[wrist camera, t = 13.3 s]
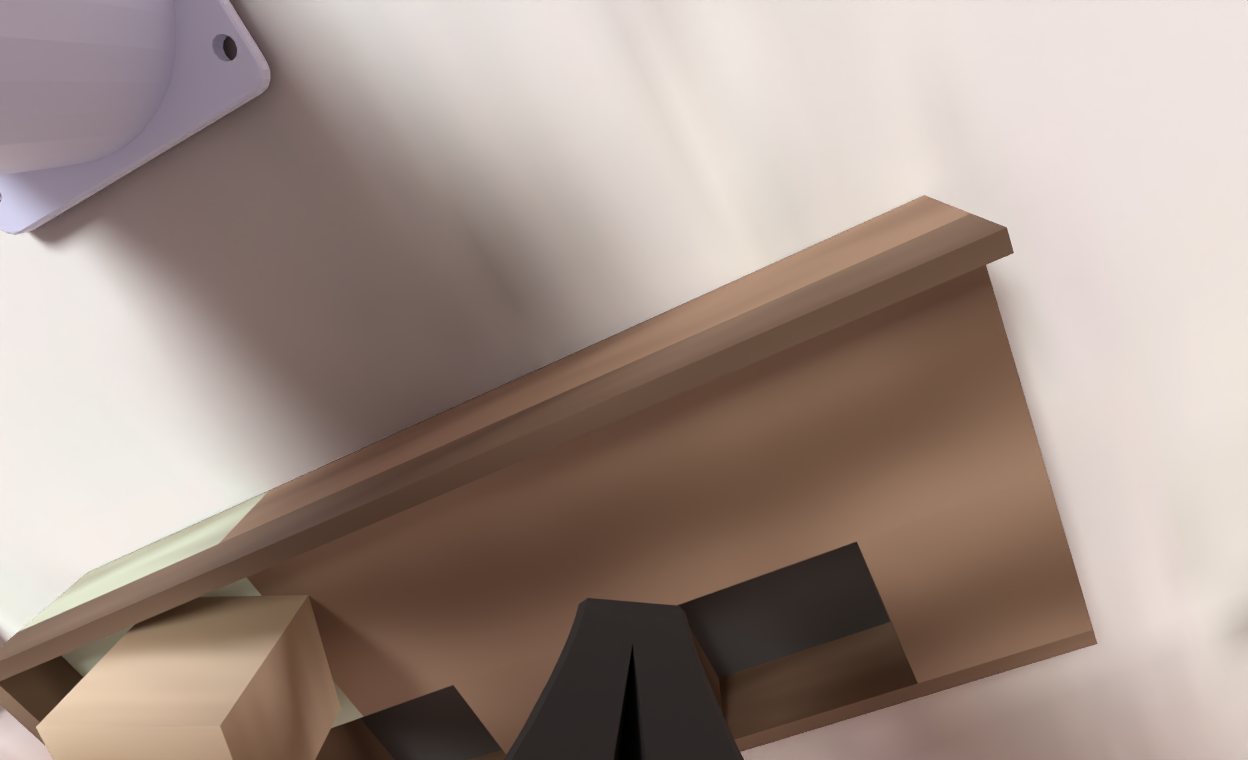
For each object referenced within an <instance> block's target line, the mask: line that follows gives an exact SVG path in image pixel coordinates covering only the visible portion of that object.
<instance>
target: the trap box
mask: <svg viewBox="0 0 1248 760" xmlns="http://www.w3.org/2000/svg"><path fill="white" fill-rule="evenodd" d="M1012 253H1014V252H1013V248H1012V245H1011V241H1010V238H1009V234H1008V230H1007V228H1006V227H1004V226H1001V225H999V224H996V223H994V222H991V221H989V220H986V219H983V218H981V217H978V216H976V215H973V214H971V213H968V212H966V211H963V210H961V209H958V208H955V207H953V206H950V205H948V204H945V203H943V202H940V201H938V200H935V199H933V198H930V197H927V196H925V195H924V196H922V197H920V198H917V199H915V200H913V201H911V202H909V203H906V204H904V205H902V206H900V207H897V208H895V209H893V210H891V211H889V212H886V213H884V214H882V215H880V216H878V217H875V218H873V219H871V220H869V221H866V222H864V223H862V224H860V225H858V226H855V227H853V228H851V229H849V230H846V231H844V232H842V233H840V234H838V235H835V236H833V237H831V238H829V239H826V240H824V241H822V242H820V243H818V244H815V245H813V246H811V247H809V248H807V249H804V250H802V251H800V252H798V253H795V254H793V255H791V256H789V257H787V258H784V259H782V260H780V261H778V262H775V263H773V264H771V265H769V266H767V267H764V268H762V269H760V270H758V271H755V272H753V273H751V274H749V275H747V276H744V277H742V278H740V279H738V280H736V281H733V282H731V283H729V284H727V285H724V286H722V287H720V288H718V289H716V290H713V291H711V292H709V293H707V294H704V295H702V296H700V297H698V298H696V299H693V300H691V301H689V302H687V303H685V304H682V305H680V306H678V307H676V308H673V309H671V310H669V311H667V312H665V313H662V314H660V315H658V316H656V317H653V318H651V319H649V320H647V321H645V322H642V323H640V324H638V325H636V326H633V327H631V328H629V329H627V330H625V331H622V332H620V333H618V334H616V335H614V336H611V337H609V338H607V339H605V340H602V341H600V342H598V343H596V344H594V345H591V346H589V347H587V348H585V349H582V350H580V351H578V352H576V353H574V354H571V355H569V356H567V357H565V358H562V359H560V360H558V361H556V362H554V363H551V364H549V365H547V366H545V367H543V368H540V369H538V370H536V371H534V372H531V373H529V374H527V375H525V376H523V377H520V378H518V379H516V380H514V381H511V382H509V383H507V384H505V385H503V386H500V387H498V388H496V389H494V390H491V391H489V392H487V393H485V394H483V395H480V396H478V397H476V398H474V399H472V400H469V401H467V402H465V403H463V404H460V405H458V406H456V407H454V408H452V409H449V410H447V411H445V412H443V413H440V414H438V415H436V416H434V417H432V418H429V419H427V420H425V421H423V422H420V423H418V424H416V425H414V426H412V427H409V428H407V429H405V430H403V431H401V432H398V433H396V434H394V435H392V436H389V437H387V438H385V439H383V440H381V441H378V442H376V443H374V444H372V445H369V446H367V447H365V448H363V449H361V450H358V451H356V452H354V453H352V454H349V455H347V456H345V457H343V458H341V459H338V460H336V461H334V462H332V463H330V464H327V465H325V466H323V467H321V468H318V469H316V470H314V471H312V472H310V473H307V474H305V475H303V476H301V477H298V478H296V479H294V480H292V481H290V482H287V483H285V484H283V485H281V486H279V487H276V488H274V489H272V490H270V491H267V492H265V493H263V494H261V495H259V496H256V497H254V498H252V499H250V500H247V501H245V502H243V503H241V504H239V505H236V506H234V507H232V508H230V509H227V510H225V511H223V512H221V513H219V514H216V515H214V516H212V517H210V518H208V519H205V520H203V521H201V522H199V523H196V524H194V525H192V526H190V527H188V528H185V529H183V530H181V531H179V532H176V533H174V534H172V535H170V536H168V537H165V538H163V539H161V540H159V541H156V542H154V543H152V544H150V545H148V546H145V547H143V548H141V549H139V550H137V551H134V552H132V553H130V554H128V555H125V556H123V557H121V558H119V559H117V560H114V561H112V562H110V563H108V564H105V565H103V566H101V567H99V568H97V569H94V570H92V571H90V572H88V573H86V574H85V575H84V576H83V577H82V578H80V579H79V580H78V581H77V582H76V583H75V584H73V585H72V586H71V587H70V588H69V589H68V590H67V591H65V592H64V593H63V594H62V595H61V596H60V597H58V598H57V599H56V600H55V601H54V602H53V603H51V604H50V605H49V606H48V607H47V608H46V609H44V610H43V611H42V612H41V613H40V614H39V615H37V616H36V617H35V618H34V619H33V620H32V621H30V622H29V623H28V624H27V625H26V626H25V627H23V628H22V629H21V630H20V631H19V632H18V633H16V634H15V635H14V636H13V637H12V638H11V639H9V640H8V641H7V642H6V643H5V644H4V645H2V646H1V647H0V705H1V706H3V707H4V708H5V709H6V710H7V711H8V712H9V713H10V714H11V715H12V716H13V717H15V718H16V719H17V720H18V721H19V722H20V723H21V724H22V725H23V726H24V727H26V728H27V729H28V730H29V731H30V732H31V733H32V734H33V735H34V736H35V737H36V738H38V739H39V740H40V741H41V742H42V743H43V744H44V742H43V740H42V738H41V736H40V734H39V732H38V730H37V729H36V726H37V725H38V724H39V723H40V722H41V721H42V720H43V719H44V718H45V717H46V716H47V715H48V714H49V713H50V712H51V711H52V710H53V709H54V708H55V707H56V706H57V705H58V704H59V703H60V702H61V700H62V699H63V698H64V697H65V696H66V695H67V694H68V693H69V692H70V691H71V690H72V689H73V688H74V687H75V686H76V685H77V684H78V683H79V682H80V681H81V680H82V679H83V678H84V677H85V676H86V675H87V674H88V672H89V671H90V670H91V669H92V668H93V667H94V666H95V665H96V664H97V663H98V662H99V661H100V660H101V659H102V658H103V657H104V656H105V655H106V654H107V653H108V652H109V651H110V650H111V649H112V648H113V647H114V645H115V644H116V643H117V642H118V641H119V640H120V639H121V638H122V637H123V636H124V635H125V634H126V633H127V632H128V631H129V630H130V629H131V628H132V627H133V626H134V625H135V624H137V623H139V622H142V621H144V620H146V619H149V618H151V617H153V616H156V615H158V614H160V613H163V612H165V611H168V610H170V609H172V608H175V607H177V606H179V605H182V604H184V603H186V602H189V601H191V600H194V599H196V598H198V597H224V596H281V595H309V599H310V602H311V606H312V609H313V613H314V616H315V619H316V623H317V626H318V630H319V633H320V637H321V640H322V644H323V647H324V651H325V654H326V658H327V661H328V665H329V668H330V672H331V675H332V679H333V682H334V686H335V689H336V693H337V696H338V699H339V703H340V706H341V709H340V711H339V713H338V715H337V717H336V719H335V721H334V723H333V725H332V727H331V729H330V731H329V733H328V735H327V737H326V739H325V741H324V743H323V745H322V747H321V749H320V751H319V753H318V755H317V757H316V759H315V760H504V758H505V756H506V755H507V753H508V752H509V750H510V748H511V747H512V745H513V743H514V742H515V740H516V739H517V737H518V735H519V733H520V732H521V730H522V728H523V726H524V725H525V723H526V721H527V719H528V717H529V715H530V713H531V712H532V710H533V708H534V706H535V704H536V702H537V700H538V698H539V697H540V695H541V693H542V691H543V689H544V687H545V685H546V684H547V682H548V680H549V678H550V676H551V674H552V671H553V669H554V667H555V665H556V663H557V661H558V659H559V657H560V654H561V652H562V650H563V648H564V645H565V643H566V641H567V638H568V636H569V633H570V630H571V628H572V625H573V622H574V619H575V616H576V612H577V609H578V605H579V603H581V602H582V601H584V600H585V599H587V598H595V599H607V600H619V601H631V602H643V603H654V604H666V605H678V606H680V608H681V609H682V610H683V611H684V612H685V613H686V616H687V620H688V624H689V628H690V631H691V634H692V637H693V641H694V643H695V646H696V649H697V652H698V655H699V658H700V660H701V663H702V666H703V668H704V671H705V673H706V676H707V678H708V681H709V683H710V686H711V688H712V691H713V693H714V696H715V698H716V700H717V703H718V705H719V707H720V710H721V712H722V714H723V716H724V718H725V721H726V723H727V725H728V727H729V729H730V731H731V733H732V736H733V738H734V740H735V742H736V744H737V746H738V749H739V751H740V752H741V751H744V750H747V749H751V748H754V747H757V746H761V745H764V744H767V743H771V742H774V741H777V740H780V739H784V738H787V737H790V736H794V735H797V734H800V733H804V732H807V731H810V730H814V729H817V728H820V727H823V726H827V725H830V724H833V723H837V722H840V721H843V720H847V719H850V718H853V717H857V716H860V715H863V714H866V713H870V712H873V711H876V710H880V709H883V708H886V707H890V706H893V705H896V704H899V703H903V702H906V701H909V700H913V699H916V698H919V697H923V696H926V695H929V694H933V693H936V692H939V691H942V690H946V689H949V688H952V687H956V686H959V685H962V684H966V683H969V682H972V681H975V680H979V679H982V678H985V677H989V676H992V675H995V674H999V673H1002V672H1005V671H1009V670H1012V669H1015V668H1018V667H1022V666H1025V665H1028V664H1032V663H1035V662H1038V661H1042V660H1045V659H1048V658H1052V657H1055V656H1058V655H1061V654H1065V653H1068V652H1071V651H1075V650H1078V649H1081V648H1085V647H1088V646H1091V645H1094V644H1097V641H1096V638H1095V634H1094V631H1093V628H1092V624H1091V621H1090V617H1089V614H1088V611H1087V607H1086V604H1085V600H1084V597H1083V594H1082V590H1081V587H1080V583H1079V580H1078V577H1077V573H1076V570H1075V566H1074V563H1073V560H1072V556H1071V553H1070V549H1069V546H1068V543H1067V539H1066V536H1065V532H1064V529H1063V526H1062V522H1061V519H1060V515H1059V512H1058V509H1057V505H1056V502H1055V498H1054V495H1053V492H1052V488H1051V485H1050V481H1049V478H1048V475H1047V471H1046V468H1045V464H1044V461H1043V458H1042V454H1041V451H1040V447H1039V444H1038V441H1037V437H1036V434H1035V430H1034V427H1033V424H1032V420H1031V417H1030V413H1029V410H1028V407H1027V403H1026V400H1025V396H1024V393H1023V390H1022V386H1021V383H1020V379H1019V376H1018V373H1017V369H1016V366H1015V362H1014V359H1013V356H1012V352H1011V349H1010V345H1009V342H1008V339H1007V335H1006V332H1005V328H1004V325H1003V322H1002V318H1001V315H1000V311H999V308H998V305H997V301H996V298H995V295H994V291H993V288H992V284H991V281H990V278H989V274H988V271H987V267H986V264H989V263H991V262H994V261H996V260H998V259H1001V258H1003V257H1005V256H1008V255H1010V254H1012ZM44 745H45V744H44Z"/></svg>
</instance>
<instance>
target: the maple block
mask: <svg viewBox="0 0 1248 760" xmlns="http://www.w3.org/2000/svg"><path fill="white" fill-rule="evenodd" d="M340 709H341V706H340V703H339V699H338V696H337V693H336V689H335V686H334V682H333V679H332V675H331V672H330V668H329V665H328V661H327V658H326V654H325V651H324V647H323V644H322V640H321V637H320V633H319V630H318V626H317V623H316V619H315V616H314V613H313V609H312V606H311V602H310V599H309V595H281V596H224V597H198V598H196V599H194V600H191V601H189V602H186V603H184V604H182V605H179V606H177V607H175V608H172V609H170V610H168V611H165V612H163V613H160V614H158V615H156V616H153V617H151V618H149V619H146V620H144V621H142V622H139V623H137V624H135V625H134V626H133V627H132V628H131V629H130V630H129V631H128V632H127V633H126V634H125V635H124V636H123V637H122V638H121V639H120V640H119V641H118V642H117V643H116V644H115V645H114V647H113V648H112V649H111V650H110V651H109V652H108V653H107V654H106V655H105V656H104V657H103V658H102V659H101V660H100V661H99V662H98V663H97V664H96V665H95V666H94V667H93V668H92V669H91V670H90V671H89V672H88V674H87V675H86V676H85V677H84V678H83V679H82V680H81V681H80V682H79V683H78V684H77V685H76V686H75V687H74V688H73V689H72V690H71V691H70V692H69V693H68V694H67V695H66V696H65V697H64V698H63V699H62V700H61V702H60V703H59V704H58V705H57V706H56V707H55V708H54V709H53V710H52V711H51V712H50V713H49V714H48V715H47V716H46V717H45V718H44V719H43V720H42V721H41V722H40V723H39V724H38V725H37V726H36V729H37V730H38V732H39V734H40V736H41V738H42V740H43V742H44V744H45V746H46V747H47V749H48V751H49V753H50V755H51V757H52V759H53V760H315V759H316V757H317V755H318V753H319V751H320V749H321V747H322V745H323V743H324V741H325V739H326V737H327V735H328V733H329V731H330V729H331V727H332V725H333V723H334V721H335V719H336V717H337V715H338V713H339V711H340Z"/></svg>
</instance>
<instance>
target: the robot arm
mask: <svg viewBox="0 0 1248 760" xmlns="http://www.w3.org/2000/svg"><path fill="white" fill-rule="evenodd" d="M227 36H230V37H231V38H232V39H233V40H234V41H235V44H236V47H237V56H236V57H235V58H234V59H233V60H230V59H229V58H228V57H227V56H226V55H225V52H224V50H223V41H224V40H225V39H226V37H227ZM270 80H271V76H270V68H269V66H268V63H267V61H266V59H265V58H264V56H263V54H262V53H261V51H260V49H259V48H258V46H257V45H256V43H255V41H254V40H253V38H252V37H251V35H250V33H249V32H248V30H247V28H246V27H245V25H244V24H243V22H242V20H241V19H240V17H239V16H238V14H237V12H236V11H235V9H234V7H233V6H232V4H231V3H230V1H229V0H0V194H1V200H0V230H2V231H4V232H6V233H8V234H14V235H17V234H21V233H26V232H29V231H33V230H35V229H36V228H38V227H40V226H41V225H43V224H45V223H46V222H48V221H50V220H51V219H53V218H55V217H56V216H58V215H60V214H61V213H63V212H65V211H66V210H68V209H70V208H71V207H73V206H75V205H76V204H78V203H80V202H82V201H83V200H85V199H87V198H88V197H90V196H92V195H93V194H95V193H97V192H98V191H100V190H102V189H103V188H105V187H107V186H108V185H110V184H112V183H113V182H115V181H117V180H118V179H120V178H122V177H123V176H125V175H127V174H128V173H130V172H132V171H133V170H135V169H137V168H138V167H140V166H142V165H143V164H145V163H147V162H148V161H150V160H152V159H153V158H155V157H157V156H158V155H160V154H162V153H163V152H165V151H167V150H168V149H170V148H172V147H173V146H175V145H177V144H178V143H180V142H182V141H183V140H185V139H187V138H188V137H190V136H192V135H194V134H195V133H197V132H199V131H200V130H202V129H204V128H205V127H207V126H209V125H210V124H212V123H214V122H215V121H217V120H219V119H220V118H222V117H224V116H225V115H227V114H229V113H230V112H232V111H234V110H235V109H237V108H239V107H240V106H242V105H244V104H245V103H247V102H249V101H250V100H252V99H254V98H255V97H257V96H259V95H260V94H262V93H263V92H264V91H265V90H266V89H267V88H268V86H269V83H270ZM504 760H744V759H743V757H742V755H741V753H740V751H739V749H738V746H737V744H736V742H735V740H734V738H733V736H732V733H731V731H730V729H729V727H728V725H727V723H726V721H725V718H724V716H723V714H722V712H721V710H720V707H719V705H718V703H717V700H716V698H715V696H714V693H713V691H712V688H711V686H710V683H709V681H708V678H707V676H706V673H705V671H704V668H703V666H702V663H701V660H700V658H699V655H698V652H697V649H696V646H695V643H694V641H693V637H692V634H691V631H690V628H689V624H688V620H687V616H686V613H685V612H684V611H683V610H682V609H681V608H680V606H678V605H666V604H654V603H643V602H631V601H619V600H607V599H595V598H587V599H585V600H584V601H582V602H581V603H579V605H578V609H577V612H576V616H575V619H574V622H573V625H572V628H571V630H570V633H569V636H568V638H567V641H566V643H565V645H564V648H563V650H562V652H561V654H560V657H559V659H558V661H557V663H556V665H555V667H554V669H553V671H552V674H551V676H550V678H549V680H548V682H547V684H546V685H545V687H544V689H543V691H542V693H541V695H540V697H539V698H538V700H537V702H536V704H535V706H534V708H533V710H532V712H531V713H530V715H529V717H528V719H527V721H526V723H525V725H524V726H523V728H522V730H521V732H520V733H519V735H518V737H517V739H516V740H515V742H514V743H513V745H512V747H511V748H510V750H509V752H508V753H507V755H506V756H505V758H504Z"/></svg>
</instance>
